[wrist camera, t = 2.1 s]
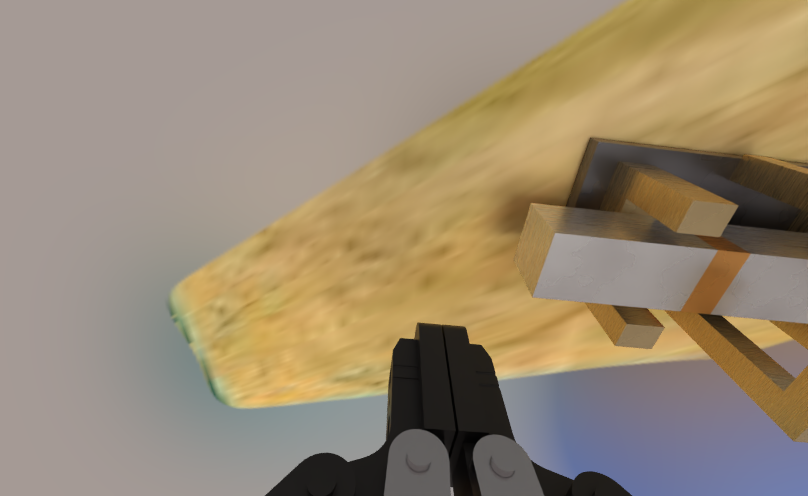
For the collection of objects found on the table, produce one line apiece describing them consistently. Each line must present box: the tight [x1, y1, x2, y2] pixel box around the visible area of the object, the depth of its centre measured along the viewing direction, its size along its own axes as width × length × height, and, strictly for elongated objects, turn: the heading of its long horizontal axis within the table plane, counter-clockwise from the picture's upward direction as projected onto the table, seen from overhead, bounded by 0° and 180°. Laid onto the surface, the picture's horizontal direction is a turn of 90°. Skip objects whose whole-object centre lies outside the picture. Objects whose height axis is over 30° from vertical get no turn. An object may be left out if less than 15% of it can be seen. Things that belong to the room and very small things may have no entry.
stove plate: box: [566, 138, 808, 231], centre depth 23 cm, size 16×10×1 cm, turn 84°
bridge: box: [665, 154, 808, 443], centre depth 18 cm, size 2×10×10 cm, turn 173°
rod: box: [514, 203, 808, 324], centre depth 19 cm, size 20×4×4 cm, turn 84°
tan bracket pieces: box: [585, 161, 808, 349], centre depth 20 cm, size 14×8×6 cm, turn 84°
